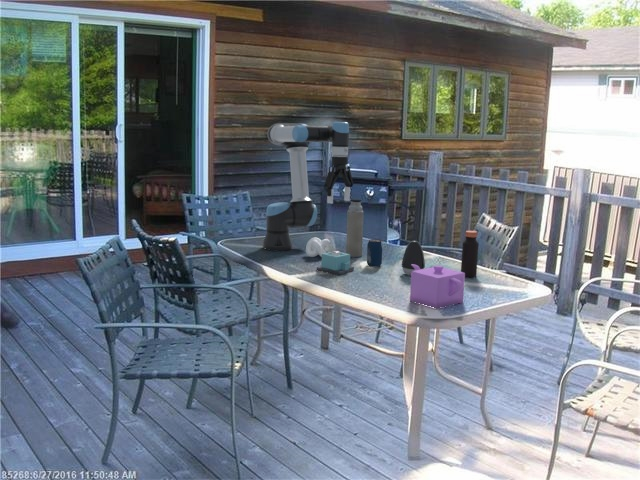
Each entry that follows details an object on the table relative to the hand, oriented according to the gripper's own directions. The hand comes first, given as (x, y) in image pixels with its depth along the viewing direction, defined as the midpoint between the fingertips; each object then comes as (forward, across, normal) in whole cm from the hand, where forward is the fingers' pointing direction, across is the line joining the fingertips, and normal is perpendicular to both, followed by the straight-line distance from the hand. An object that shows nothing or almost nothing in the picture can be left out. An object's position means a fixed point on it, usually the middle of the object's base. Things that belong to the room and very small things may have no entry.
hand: (338, 202), depth 302 cm
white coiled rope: (+29, +4, +15) cm, 33 cm away
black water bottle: (+29, +17, -59) cm, 68 cm away
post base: (+29, -14, -9) cm, 33 cm away
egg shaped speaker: (+29, +3, -39) cm, 49 cm away
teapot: (+29, -29, -66) cm, 78 cm away
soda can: (+29, +6, -17) cm, 34 cm away
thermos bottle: (+29, +19, +3) cm, 35 cm away
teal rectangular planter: (+27, -14, -9) cm, 32 cm away
